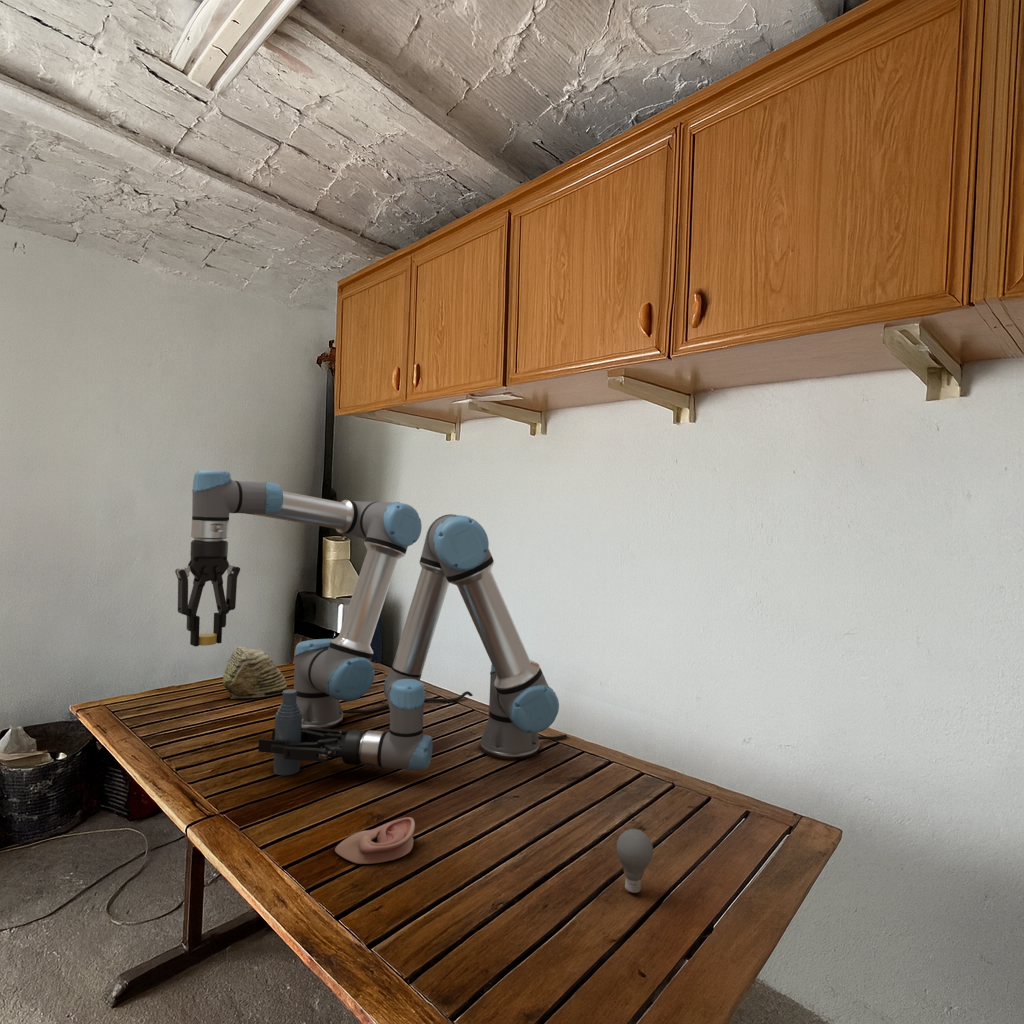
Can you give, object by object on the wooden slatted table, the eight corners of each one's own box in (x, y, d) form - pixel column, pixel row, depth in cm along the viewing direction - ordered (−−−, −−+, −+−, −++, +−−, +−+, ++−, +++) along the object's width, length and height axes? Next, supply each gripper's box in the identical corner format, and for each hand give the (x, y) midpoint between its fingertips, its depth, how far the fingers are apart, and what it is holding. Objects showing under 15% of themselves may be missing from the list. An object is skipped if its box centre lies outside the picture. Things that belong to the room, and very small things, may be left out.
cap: (196, 646, 139) (196, 637, 139) (194, 642, 142) (194, 633, 142) (218, 644, 141) (218, 636, 141) (215, 640, 145) (215, 632, 145)
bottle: (267, 770, 145) (270, 691, 145) (289, 762, 150) (292, 685, 150) (284, 777, 142) (287, 696, 142) (305, 769, 147) (308, 690, 146)
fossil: (218, 695, 195) (220, 647, 195) (278, 685, 208) (279, 640, 207) (228, 703, 189) (230, 653, 188) (289, 692, 201) (290, 645, 201)
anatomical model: (327, 836, 111) (356, 806, 122) (326, 858, 111) (355, 826, 122) (398, 848, 108) (421, 815, 119) (397, 871, 108) (420, 836, 119)
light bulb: (610, 879, 108) (613, 822, 108) (644, 879, 109) (647, 822, 109) (619, 902, 102) (622, 840, 102) (655, 901, 103) (658, 840, 103)
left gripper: (175, 541, 132) (171, 652, 133) (255, 540, 145) (251, 641, 146) (161, 538, 137) (157, 646, 138) (240, 537, 150) (236, 635, 151)
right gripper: (348, 782, 135) (244, 773, 137) (375, 748, 154) (284, 740, 156) (349, 747, 135) (245, 738, 137) (377, 717, 153) (285, 710, 156)
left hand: (205, 643), depth 142 cm, fingers closed on cap, 4 cm apart
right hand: (266, 739), depth 146 cm, fingers closed on bottle, 6 cm apart
